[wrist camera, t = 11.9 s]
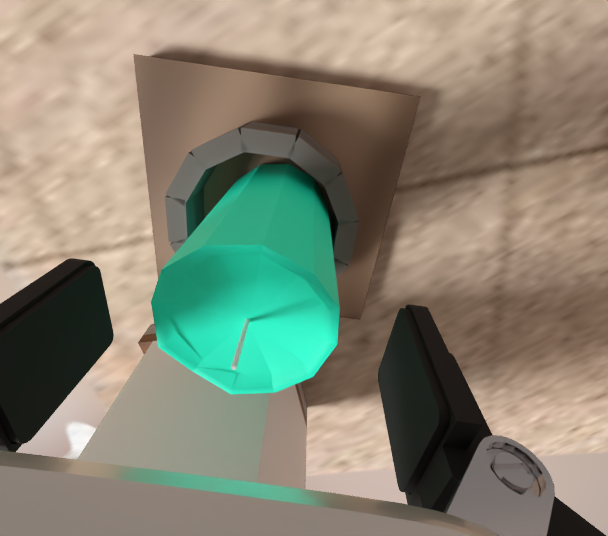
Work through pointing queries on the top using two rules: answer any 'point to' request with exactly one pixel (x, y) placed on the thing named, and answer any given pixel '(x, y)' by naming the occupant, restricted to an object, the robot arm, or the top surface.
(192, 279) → the candle
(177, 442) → the tall banded pillar
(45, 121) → the top surface
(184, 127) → the candle stand
